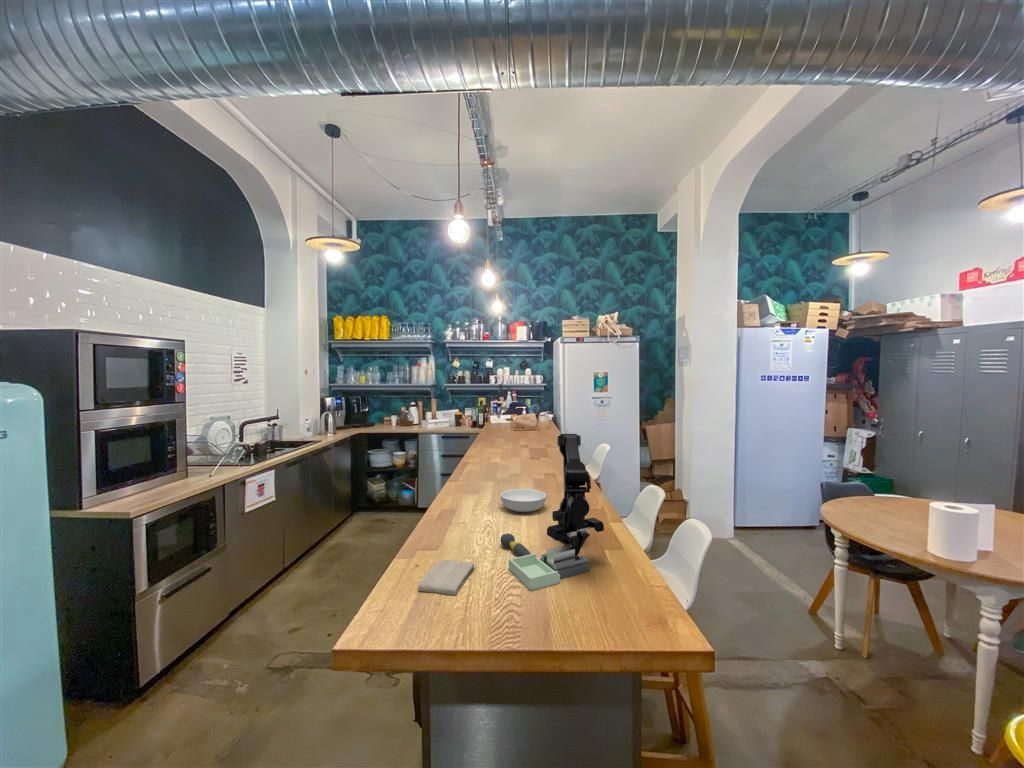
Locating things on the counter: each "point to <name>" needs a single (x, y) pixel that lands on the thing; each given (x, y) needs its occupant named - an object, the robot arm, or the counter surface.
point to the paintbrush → (513, 545)
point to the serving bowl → (523, 499)
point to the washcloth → (446, 577)
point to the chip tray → (533, 572)
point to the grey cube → (568, 552)
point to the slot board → (569, 566)
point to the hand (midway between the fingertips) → (575, 554)
